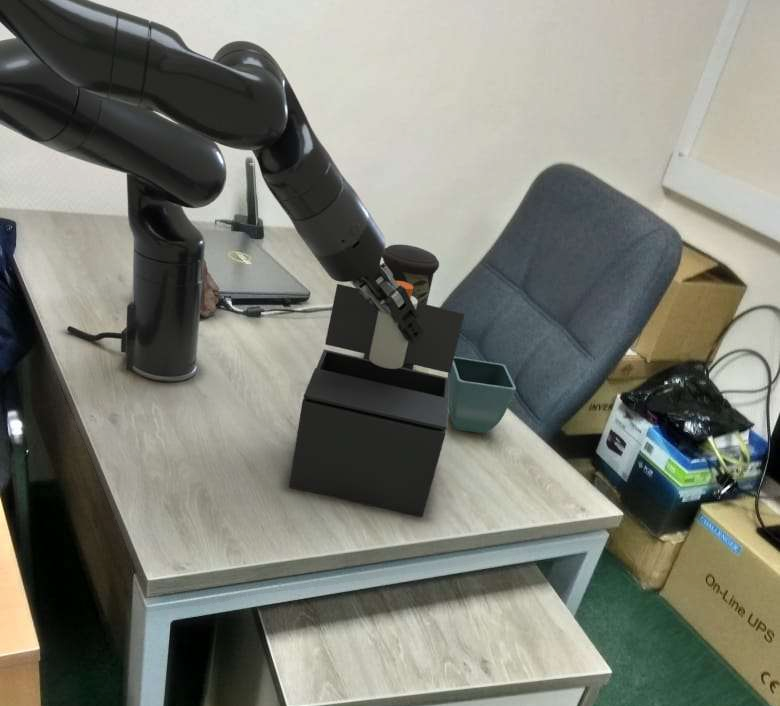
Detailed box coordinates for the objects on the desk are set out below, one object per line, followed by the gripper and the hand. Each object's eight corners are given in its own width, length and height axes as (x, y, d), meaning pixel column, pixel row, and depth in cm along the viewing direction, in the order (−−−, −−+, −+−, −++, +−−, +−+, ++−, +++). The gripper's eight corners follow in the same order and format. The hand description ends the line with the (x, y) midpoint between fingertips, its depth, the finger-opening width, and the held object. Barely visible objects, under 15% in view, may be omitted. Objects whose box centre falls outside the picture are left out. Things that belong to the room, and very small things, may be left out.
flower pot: (436, 407, 126) (449, 354, 121) (489, 415, 128) (505, 363, 123) (443, 434, 119) (458, 380, 114) (499, 443, 121) (517, 389, 116)
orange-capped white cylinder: (367, 364, 100) (383, 286, 94) (371, 350, 103) (386, 274, 98) (401, 372, 100) (419, 294, 94) (404, 358, 104) (421, 283, 98)
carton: (288, 487, 99) (303, 395, 92) (310, 428, 113) (324, 343, 106) (422, 517, 100) (447, 427, 93) (428, 454, 113) (450, 372, 106)
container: (407, 385, 131) (436, 264, 120) (354, 370, 131) (378, 249, 120) (416, 366, 138) (445, 250, 127) (366, 352, 138) (390, 235, 127)
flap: (337, 283, 104) (337, 283, 104) (324, 344, 105) (325, 344, 106) (464, 313, 104) (464, 313, 105) (450, 373, 106) (450, 373, 107)
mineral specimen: (180, 348, 136) (115, 292, 137) (232, 310, 142) (169, 257, 144) (184, 302, 126) (114, 243, 127) (240, 263, 132) (172, 207, 134)
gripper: (285, 228, 92) (357, 325, 105) (340, 275, 83) (412, 376, 96) (333, 184, 92) (400, 287, 105) (394, 226, 83) (459, 333, 96)
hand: (406, 329), depth 100 cm, fingers closed on orange-capped white cylinder, 4 cm apart
